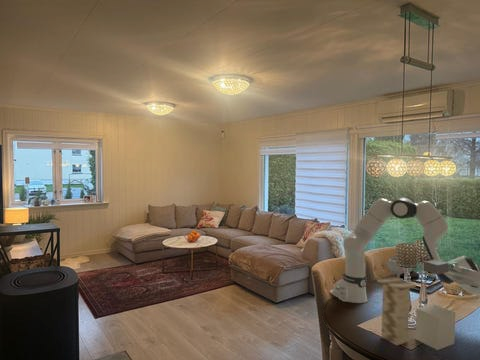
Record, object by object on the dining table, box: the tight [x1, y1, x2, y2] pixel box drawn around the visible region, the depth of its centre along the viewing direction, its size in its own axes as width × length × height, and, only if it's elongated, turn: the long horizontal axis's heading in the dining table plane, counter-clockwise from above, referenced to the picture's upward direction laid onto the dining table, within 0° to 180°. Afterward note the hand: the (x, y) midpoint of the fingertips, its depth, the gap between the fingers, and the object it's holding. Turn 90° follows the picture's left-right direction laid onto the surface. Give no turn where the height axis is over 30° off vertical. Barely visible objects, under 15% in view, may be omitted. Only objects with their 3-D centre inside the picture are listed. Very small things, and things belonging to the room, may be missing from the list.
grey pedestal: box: [415, 303, 456, 351], centre depth 146 cm, size 10×12×14 cm
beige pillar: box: [377, 276, 417, 346], centre depth 147 cm, size 12×10×26 cm
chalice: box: [387, 257, 404, 280], centre depth 226 cm, size 14×14×15 cm
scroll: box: [400, 270, 421, 280], centre depth 237 cm, size 15×15×20 cm
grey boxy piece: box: [423, 260, 458, 275], centre depth 147 cm, size 6×18×4 cm, turn 117°
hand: (448, 264), depth 149 cm, fingers closed on grey boxy piece, 3 cm apart
